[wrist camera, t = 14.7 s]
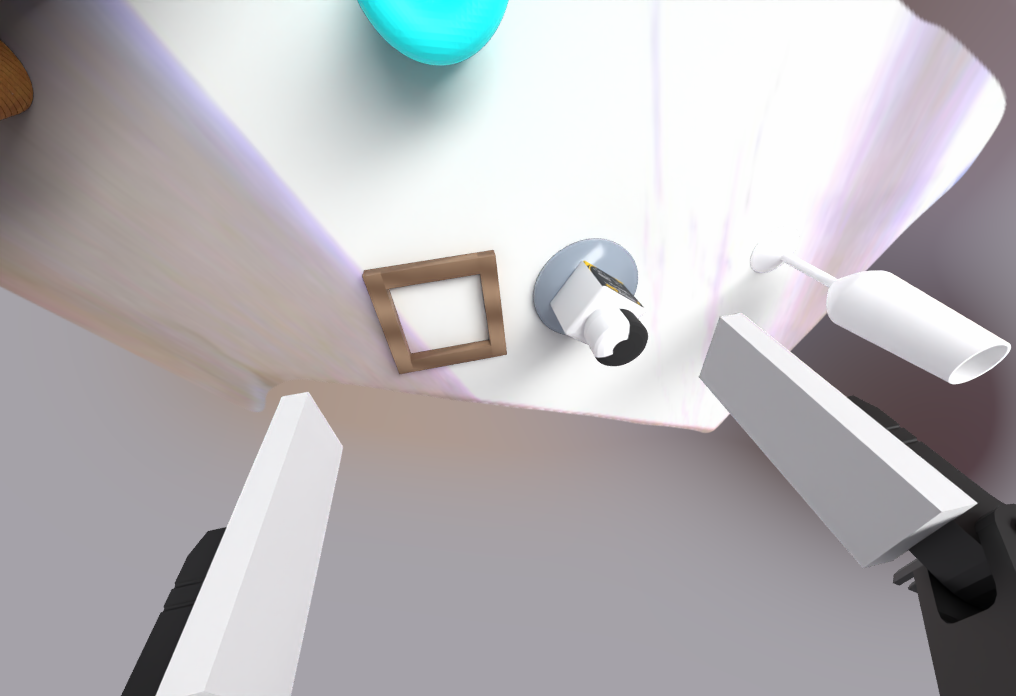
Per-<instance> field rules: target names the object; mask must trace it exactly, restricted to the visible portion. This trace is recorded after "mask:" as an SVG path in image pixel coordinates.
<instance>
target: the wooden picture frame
mask: <svg viewBox="0 0 1016 696" xmlns="http://www.w3.org/2000/svg"><path fill="white" fill-rule="evenodd" d="M476 274H480V278H481V284H482V291H483V298H484V304H485V311H486V318H487V324H488V331H489V337H490V340H485V341H479V342H473V343H468V344H462V345H457V346H451V347H445V348H440V349H434V350H429V351H423V352H417V353H412V354H411V352H410V350H409V347H408V344H407V341H406V338H405V335H404V332H403V329H402V326H401V323H400V320H399V317H398V314H397V311H396V308H395V305H394V302H393V299H392V296H391V293H390V290H389V289H391V288H397V287H403V286H409V285H415V284H421V283H427V282H433V281H440V280H446V279H452V278H458V277H464V276H470V275H476ZM362 277H363V279H364V282H365V285H366V287H367V290H368V293H369V295H370V298H371V300H372V303H373V306H374V308H375V311H376V313H377V316H378V319H379V321H380V324H381V327H382V329H383V332H384V334H385V337H386V340H387V342H388V345H389V348H390V350H391V353H392V355H393V358H394V361H395V363H396V366H397V368H398V371H399V374H403V373H409V372H414V371H420V370H425V369H431V368H436V367H442V366H447V365H453V364H458V363H464V362H469V361H475V360H480V359H486V358H491V357H497V356H502V355H507V351H506V342H505V333H504V325H503V316H502V308H501V299H500V290H499V282H498V273H497V264H496V256H495V253H494V250H490V251H484V252H477V253H471V254H465V255H458V256H452V257H446V258H439V259H433V260H427V261H420V262H414V263H408V264H401V265H395V266H389V267H382V268H376V269H370V270H364V273H363V276H362Z"/></svg>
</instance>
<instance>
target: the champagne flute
mask: <svg viewBox="0 0 1016 696" xmlns="http://www.w3.org/2000/svg"><path fill="white" fill-rule="evenodd" d="M798 240H799V236H798V232H797V231H796V230H795V229H794V228H791V227H782V228H779V229H776V230H774V231H772V232H771V233H769V234H768V235H766V236H765V237H764V238H763V239H762V240H761V241H760V242H759V243H758V245H757V246H756V247H755V249H754V251H753V253H752V256H751V260H750V263H751V267H752V269H753V270H754V271H756V272H758V273H766V272H770V271H772V270H774V269H776V268H778V267H779V266H781V265H782V264H783V263H787V264H788V265H790V266H792V267H794V268H795V269H797V270H799V271H801V272H802V273H804V274H806V275H808V276H809V277H811V278H813V279H815V280H816V281H818V282H820V283H822V284H823V285H825V286H827V287H829V290H828V293H827V300H826V308H827V313H828V315H829V317H830V319H831V320H832V321H833V322H834V323H835V324H837V325H839V326H841V327H843V328H845V329H847V330H849V331H851V332H853V333H855V334H856V335H858V336H860V337H862V338H864V339H866V340H868V341H870V342H872V343H874V344H876V345H878V346H880V347H882V348H883V349H885V350H888V351H889V352H891V353H893V354H895V355H897V356H899V357H901V358H903V359H905V360H907V361H909V362H911V363H913V364H914V365H916V366H918V367H920V368H922V369H924V370H926V371H928V372H930V373H932V374H934V375H936V376H937V377H939V378H942V379H943V380H945V381H947V382H949V383H951V384H959V383H964V382H967V381H969V380H971V379H974V378H976V377H978V376H980V375H981V374H983V373H985V372H987V371H988V370H990V369H991V368H993V367H994V366H995V365H997V364H998V363H999V362H1000V361H1001V360H1002V359H1003V358H1004V357H1005V356H1006V355H1007V354H1008V353H1009V351H1010V349H1011V345H1010V344H1009V343H1008V342H1006V341H1004V340H1003V339H1001V338H999V337H997V336H996V335H994V334H992V333H991V332H989V331H987V330H986V329H984V328H982V327H981V326H979V325H977V324H976V323H974V322H972V321H971V320H969V319H967V318H966V317H964V316H962V315H961V314H959V313H957V312H956V311H954V310H952V309H951V308H949V307H947V306H945V305H944V304H942V303H940V302H939V301H937V300H935V299H934V298H932V297H930V296H929V295H927V294H925V293H924V292H922V291H920V290H919V289H917V288H915V287H914V286H912V285H910V284H909V283H907V282H905V281H903V280H902V279H900V278H898V277H897V276H895V275H893V274H892V273H889V272H886V271H865V272H859V273H855V274H852V275H849V276H845V277H842V278H840V279H836V278H834V277H832V276H831V275H829V274H827V273H825V272H823V271H821V270H819V269H818V268H816V267H814V266H812V265H810V264H808V263H806V262H805V261H803V260H801V259H799V258H797V257H795V256H793V255H792V254H793V252H794V251H795V249H796V247H797V244H798Z"/></svg>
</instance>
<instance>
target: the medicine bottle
mask: <svg viewBox="0 0 1016 696" xmlns="http://www.w3.org/2000/svg"><path fill="white" fill-rule="evenodd" d="M550 304H551V307H552V309H553V311H554V313H555V315H556V317H557V319H558V321H559V323H560V324H561V326H562V328H563V330H564V332H565V334H566V335H568V336H570V337H572V338H574V339H577V340H579V341H581V342H583V343H585V344H588V345H589V347H590V349H591V350H592V352H593V354H594V356H595V358H596V359H597V360H598V361H599V362H600V363H601V364H604V365H607V366H620V365H624V364H626V363H629V362H631V361H632V360H634V359H635V358H636V357H638V356H639V355H640V354H641V352H642V351H643V350H644V348H645V346H646V343H647V340H648V333H647V330H646V328H645V327H644V326H643V325H642V323H641V322H640V321H639V320H638V319H639V318H640V317H641V316H642V315H643V314H644V313H645V311H646V310H645V308H644V307H643V306H642V305H641V304H640V303H639V302H638V300H637V299H636V298H635V297H634V296H633V295H632V294H631V292H630V291H629V290H628V289H627V288H626V287H625V286H624V284H623V283H622V282H620V281H619V280H617V279H615V278H614V277H612V276H610V275H609V274H607V273H605V272H604V271H602V270H600V269H598V268H597V267H595V266H593V265H592V264H590V263H588V262H587V261H585V260H583V261H581V263H580V264H579V265H578V267H577V268H576V269H575V271H574V272H573V273H572V274H571V276H570V277H569V278H568V280H567V281H566V282H565V284H564V285H563V286H562V288H561V289H560V290H559V292H558V293H557V294H556V296H555V297H554V298H553V300H552V301H551V303H550Z"/></svg>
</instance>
